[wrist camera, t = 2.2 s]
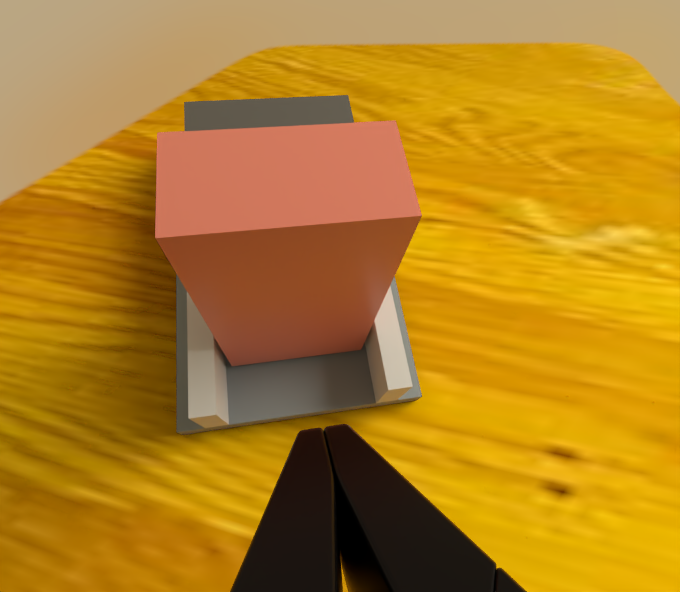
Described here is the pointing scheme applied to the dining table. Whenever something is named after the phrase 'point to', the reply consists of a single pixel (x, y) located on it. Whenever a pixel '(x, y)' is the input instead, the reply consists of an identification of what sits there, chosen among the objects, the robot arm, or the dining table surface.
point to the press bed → (291, 374)
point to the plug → (285, 232)
